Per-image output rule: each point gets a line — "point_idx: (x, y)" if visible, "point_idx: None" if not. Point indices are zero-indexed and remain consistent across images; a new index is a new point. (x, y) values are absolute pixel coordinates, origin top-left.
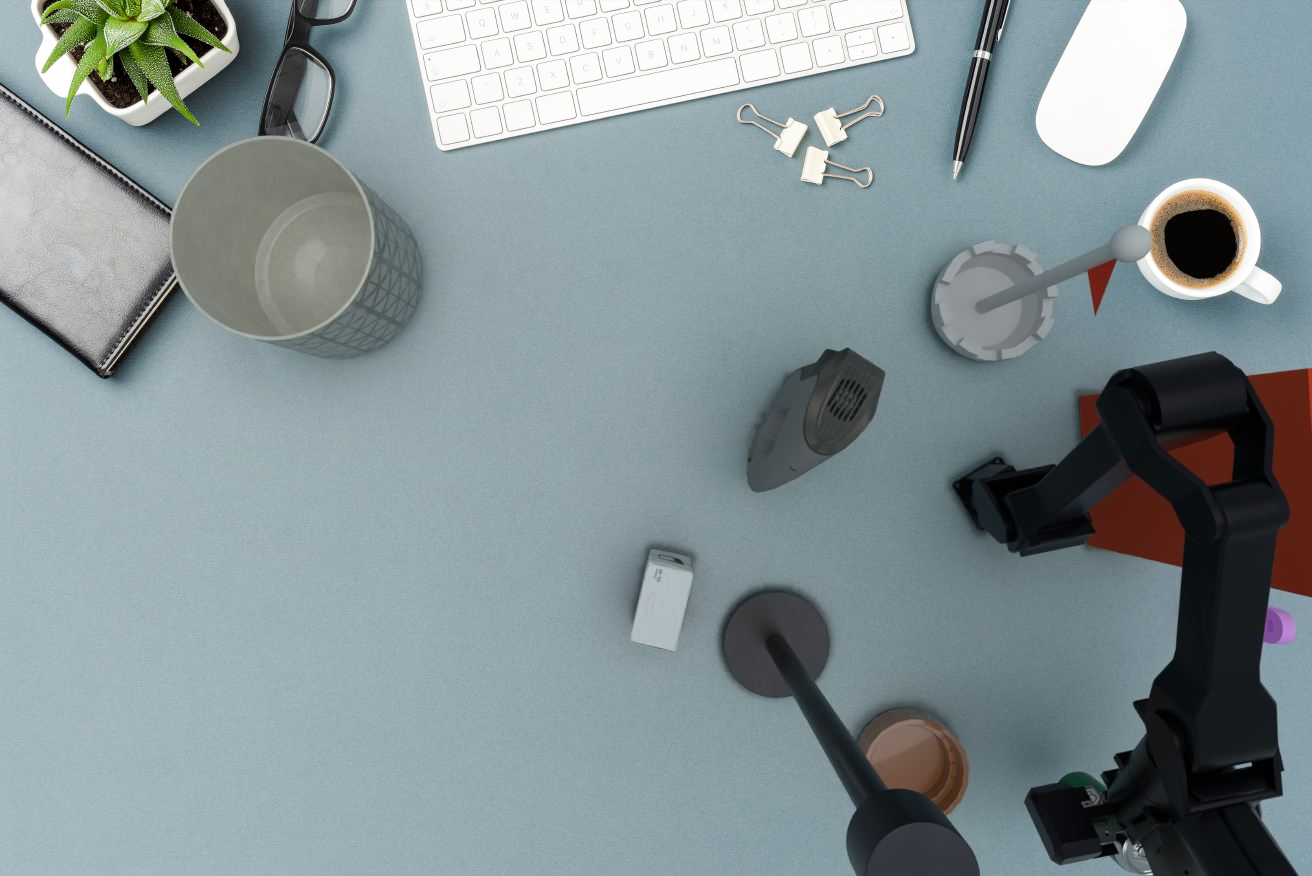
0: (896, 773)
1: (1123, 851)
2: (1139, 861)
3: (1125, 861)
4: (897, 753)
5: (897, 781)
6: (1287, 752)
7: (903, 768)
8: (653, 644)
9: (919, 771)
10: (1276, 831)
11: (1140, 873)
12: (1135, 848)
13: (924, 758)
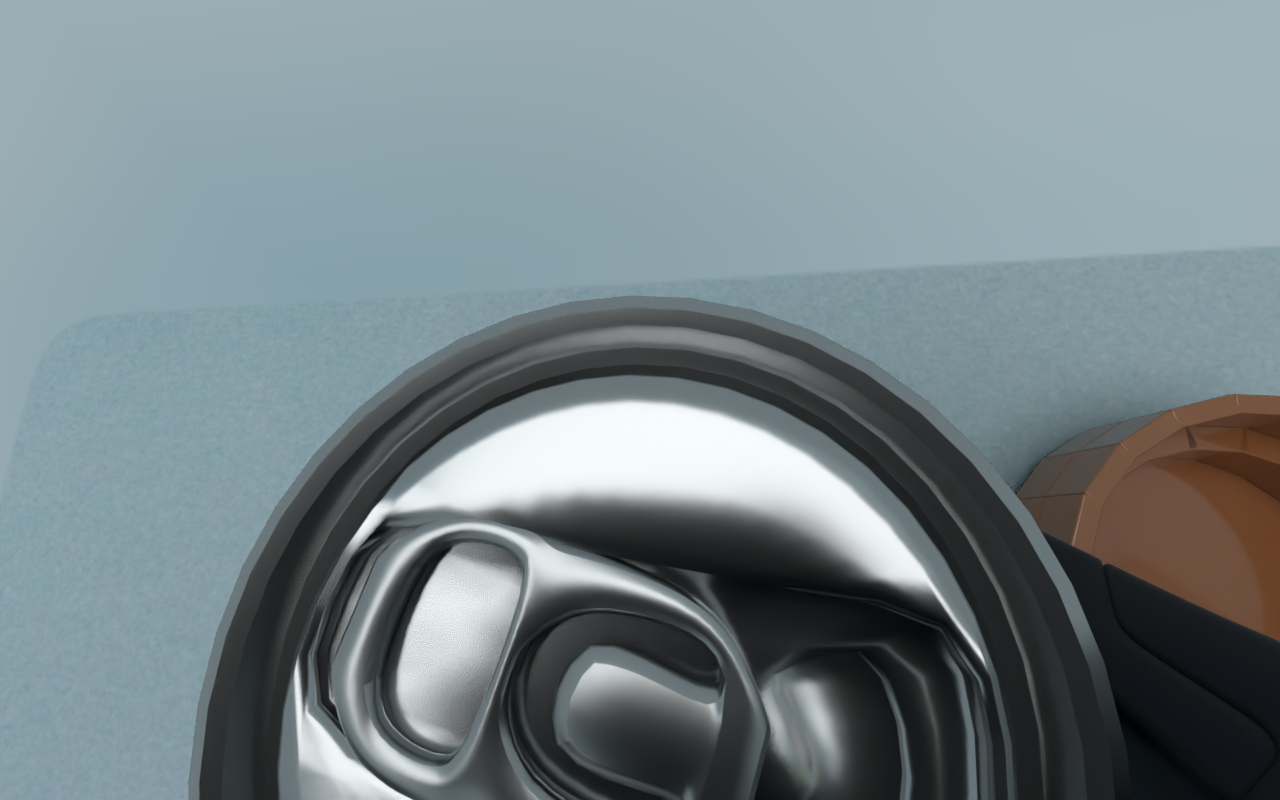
0: (1212, 542)
1: (1117, 763)
2: (747, 542)
3: (1028, 538)
4: (1224, 614)
5: (1201, 514)
6: (4, 610)
7: (1191, 561)
8: None
9: (1128, 551)
10: (83, 395)
11: (716, 329)
12: (810, 781)
13: None
